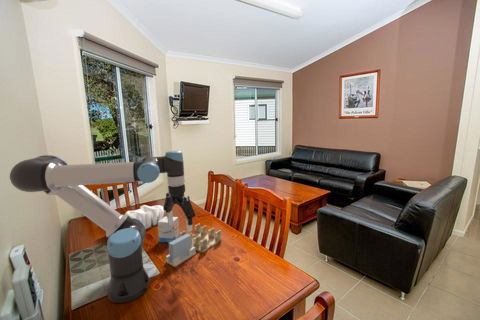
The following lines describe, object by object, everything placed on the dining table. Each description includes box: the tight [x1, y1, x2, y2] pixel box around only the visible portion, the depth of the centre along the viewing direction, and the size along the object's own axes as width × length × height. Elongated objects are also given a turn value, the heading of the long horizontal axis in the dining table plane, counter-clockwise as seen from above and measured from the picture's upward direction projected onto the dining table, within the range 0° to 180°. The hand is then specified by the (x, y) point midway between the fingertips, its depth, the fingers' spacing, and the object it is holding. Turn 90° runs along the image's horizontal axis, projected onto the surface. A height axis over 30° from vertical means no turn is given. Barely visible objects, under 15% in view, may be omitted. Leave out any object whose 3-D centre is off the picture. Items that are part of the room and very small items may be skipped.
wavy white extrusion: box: [124, 204, 165, 230], centre depth 147 cm, size 35×16×11 cm, turn 139°
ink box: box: [157, 215, 180, 243], centre depth 130 cm, size 9×8×12 cm
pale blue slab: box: [168, 233, 192, 262], centre depth 110 cm, size 11×3×9 cm, turn 144°
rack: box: [178, 222, 222, 254], centre depth 125 cm, size 15×17×6 cm
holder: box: [165, 247, 197, 268], centre depth 111 cm, size 13×6×3 cm, turn 144°
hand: (179, 227), depth 109 cm, fingers open, 13 cm apart
